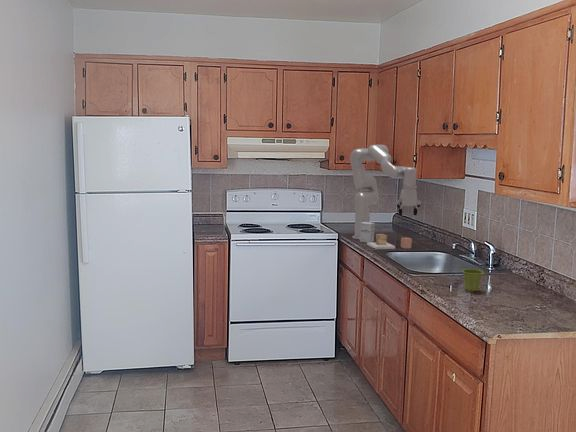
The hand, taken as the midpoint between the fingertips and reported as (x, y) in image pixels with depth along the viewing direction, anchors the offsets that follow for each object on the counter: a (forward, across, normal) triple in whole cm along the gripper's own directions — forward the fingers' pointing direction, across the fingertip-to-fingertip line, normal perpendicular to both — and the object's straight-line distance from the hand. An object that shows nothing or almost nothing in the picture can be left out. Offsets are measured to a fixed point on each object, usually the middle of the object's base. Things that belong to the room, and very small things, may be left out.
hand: (407, 215), depth 379 cm
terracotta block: (+20, 0, 0) cm, 20 cm away
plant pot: (+21, +14, +104) cm, 107 cm away
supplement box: (+20, +18, -22) cm, 35 cm away
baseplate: (+20, +15, -4) cm, 26 cm away
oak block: (+19, +15, -4) cm, 24 cm away
